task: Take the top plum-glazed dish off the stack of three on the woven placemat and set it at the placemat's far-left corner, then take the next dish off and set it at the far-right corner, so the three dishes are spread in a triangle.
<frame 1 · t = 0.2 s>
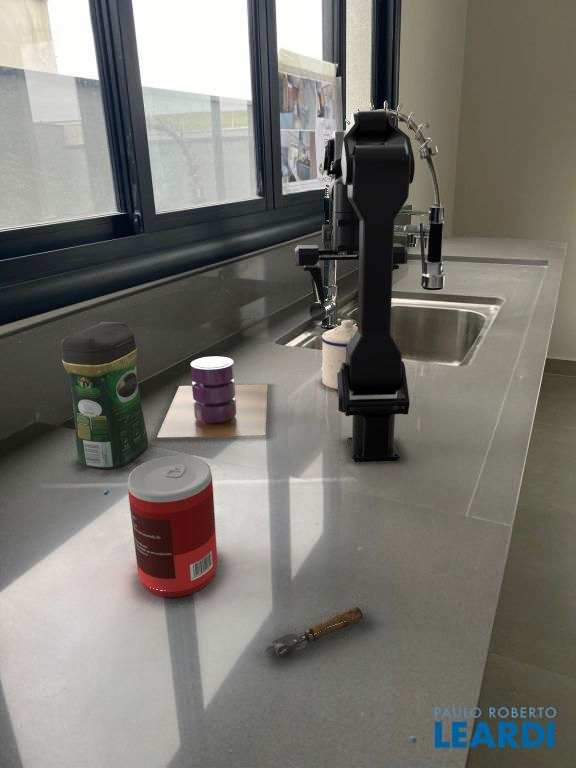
hand: (349, 304, 106), 15 cm above the counter, tool pointing down, fingers open, 9 cm apart
canned food: (179, 574, 60), on the counter
coffee jar: (113, 457, 84), on the counter
plum dish top: (213, 381, 93), point 6 cm above the counter, touching plum dish middle
plum dish middle: (214, 399, 94), point 3 cm above the counter, touching plum dish bottom, plum dish top
placemat: (218, 410, 99), on the counter
can opener: (316, 637, 51), on the counter
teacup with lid: (349, 381, 112), on the counter
plum dish bottom: (215, 417, 95), resting on placemat, touching plum dish middle
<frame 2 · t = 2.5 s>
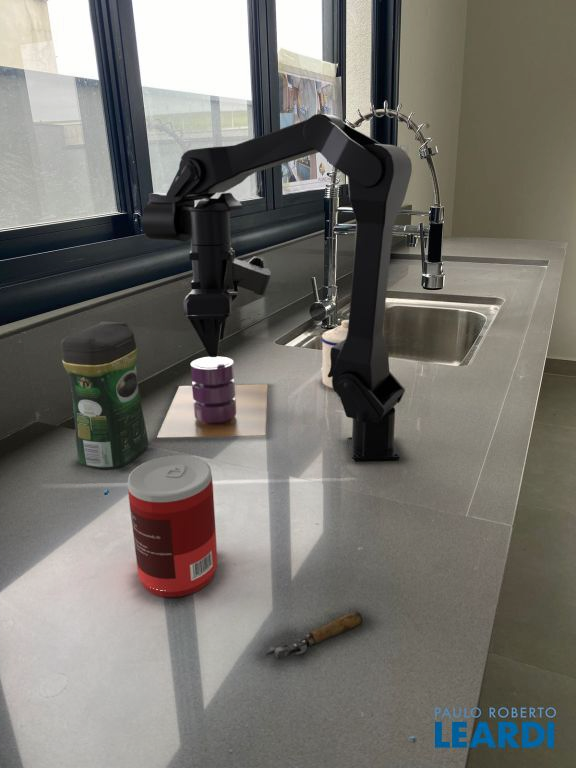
hand: (216, 347, 92), 12 cm above the counter, tool pointing down, fingers open, 9 cm apart
nothing on the counter moved.
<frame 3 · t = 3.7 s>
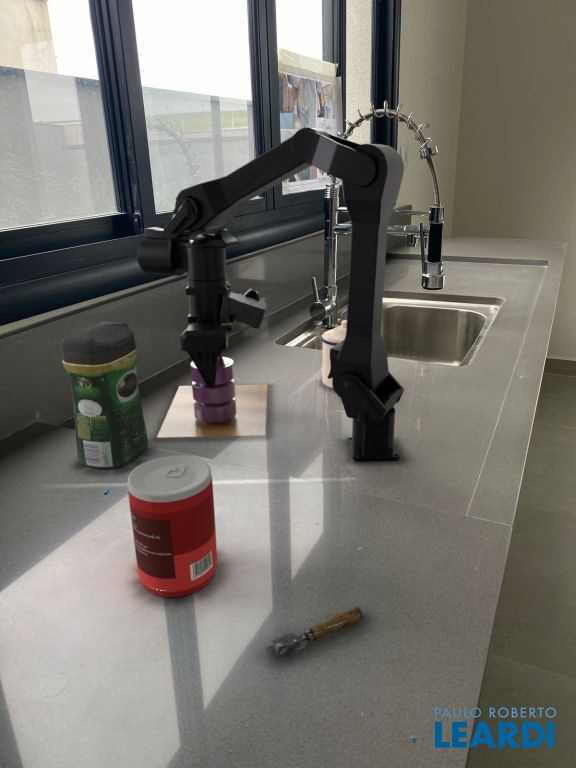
hand: (213, 379, 93), 7 cm above the counter, tool pointing down, fingers closed on plum dish top, 6 cm apart
plum dish top: (213, 381, 93), point 6 cm above the counter, touching gripper, plum dish middle
everything else where it was.
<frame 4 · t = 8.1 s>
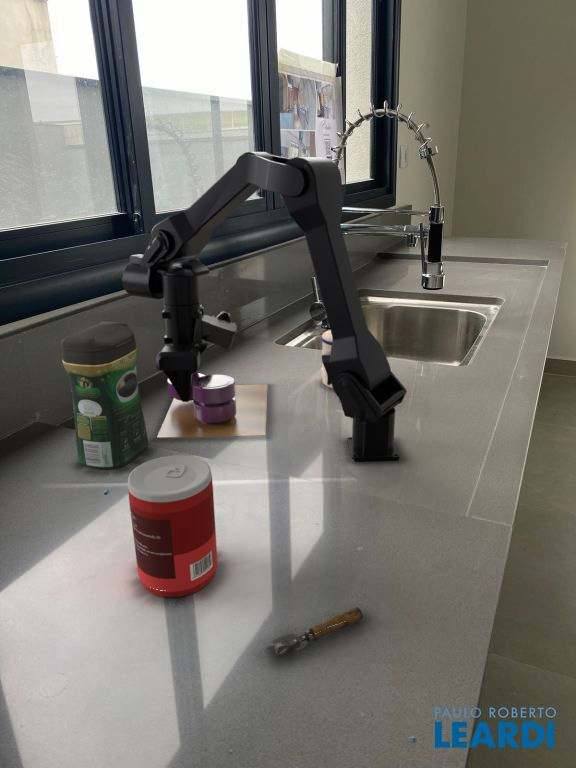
hand: (188, 394, 101), 2 cm above the counter, tool pointing down, fingers closed on plum dish top, 6 cm apart
plum dish top: (188, 395, 101), point 1 cm above the counter, touching gripper
plum dish middle: (214, 399, 94), point 3 cm above the counter, touching gripper, plum dish bottom
everything else where it was.
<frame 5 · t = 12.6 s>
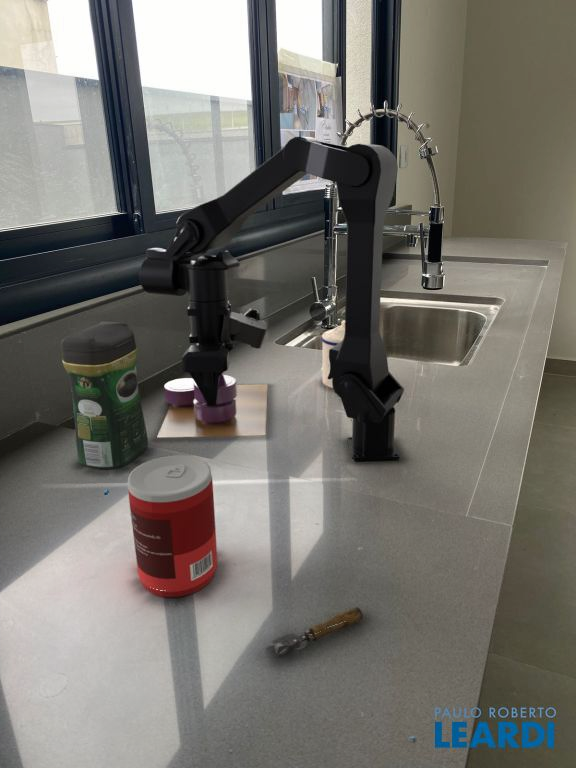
hand: (214, 397, 94), 4 cm above the counter, tool pointing down, fingers closed on plum dish middle, 6 cm apart
plum dish top: (185, 401, 102), resting on placemat
plum dish middle: (215, 399, 94), point 3 cm above the counter, touching gripper, plum dish bottom
everything else where it was.
when the fingers open (1 cm above the counter, at t = 18.0 s): plum dish middle stays where it is, resting on placemat.
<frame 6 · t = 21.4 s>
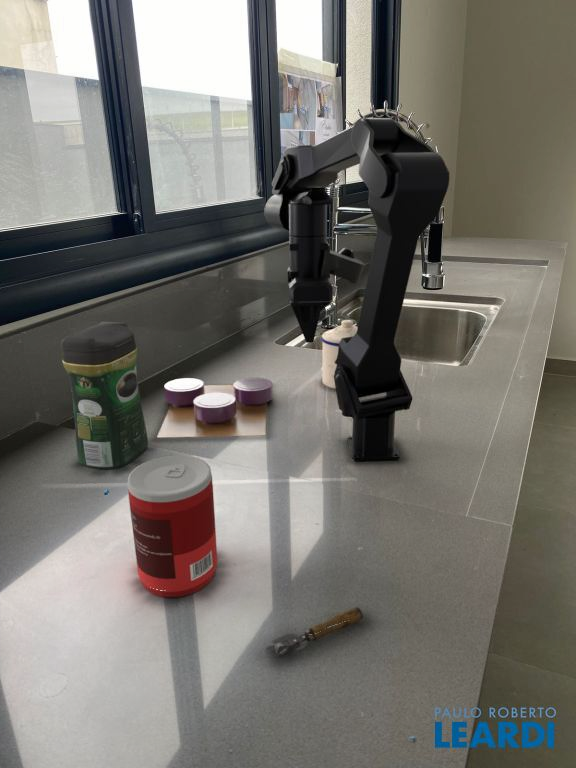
hand: (308, 334, 97), 12 cm above the counter, tool pointing down, fingers open, 9 cm apart
plum dish middle: (253, 400, 102), resting on placemat
plum dish bottom: (215, 417, 95), resting on placemat
everything else where it was.
at the end: plum dish top 0.3 cm from the target spot, resting on placemat; plum dish middle 0.5 cm from the target spot, resting on placemat; plum dish bottom moved 0.0 cm from its start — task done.
